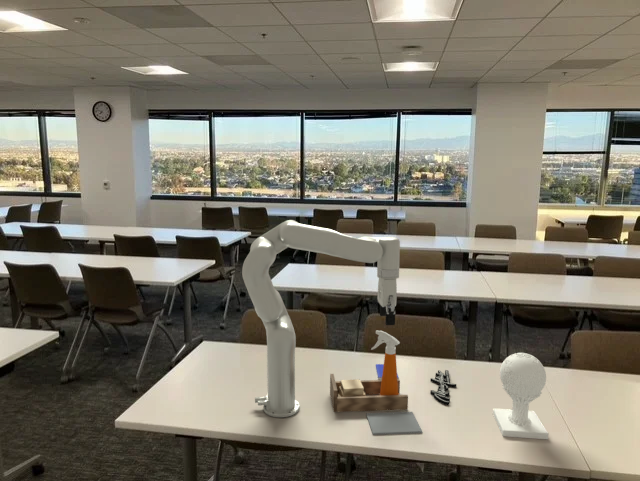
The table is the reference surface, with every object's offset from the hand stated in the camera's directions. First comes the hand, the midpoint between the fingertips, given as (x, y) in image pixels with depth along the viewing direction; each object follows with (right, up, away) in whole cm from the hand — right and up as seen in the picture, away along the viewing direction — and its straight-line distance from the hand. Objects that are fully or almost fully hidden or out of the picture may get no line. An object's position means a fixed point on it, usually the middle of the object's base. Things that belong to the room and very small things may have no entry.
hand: (387, 320), depth 166 cm
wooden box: (-6, -30, +5) cm, 31 cm away
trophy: (+42, -33, -11) cm, 54 cm away
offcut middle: (-12, -28, +4) cm, 31 cm away
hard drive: (+4, -27, +28) cm, 39 cm away
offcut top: (-12, -26, +3) cm, 29 cm away
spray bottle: (0, -30, +5) cm, 31 cm away
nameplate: (+24, -29, +16) cm, 41 cm away
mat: (+1, -33, -10) cm, 34 cm away
